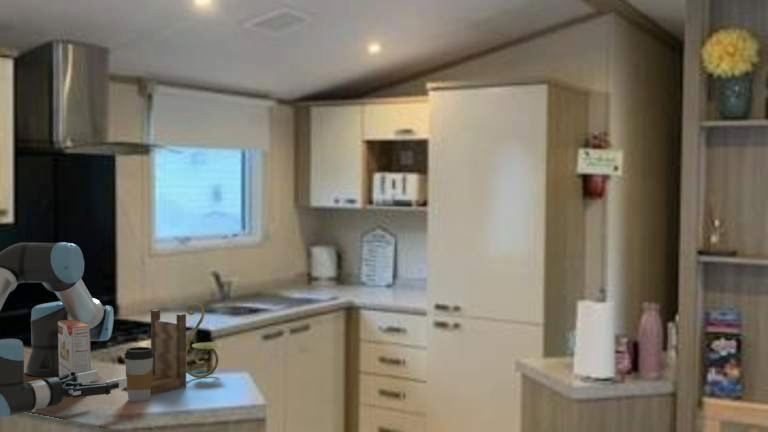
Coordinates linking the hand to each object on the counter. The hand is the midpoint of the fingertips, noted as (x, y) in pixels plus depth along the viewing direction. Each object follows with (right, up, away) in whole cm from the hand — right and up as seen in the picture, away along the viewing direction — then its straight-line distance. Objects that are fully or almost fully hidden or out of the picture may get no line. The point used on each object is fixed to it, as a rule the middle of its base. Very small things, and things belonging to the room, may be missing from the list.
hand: (111, 378), depth 240 cm
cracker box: (-18, -7, +19) cm, 27 cm away
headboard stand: (+6, -7, +23) cm, 25 cm away
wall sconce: (+18, -7, +35) cm, 40 cm away
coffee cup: (+6, -8, +8) cm, 13 cm away
